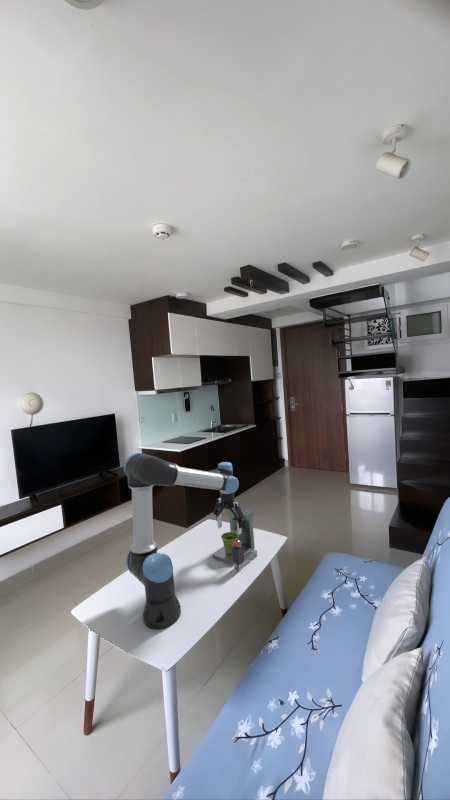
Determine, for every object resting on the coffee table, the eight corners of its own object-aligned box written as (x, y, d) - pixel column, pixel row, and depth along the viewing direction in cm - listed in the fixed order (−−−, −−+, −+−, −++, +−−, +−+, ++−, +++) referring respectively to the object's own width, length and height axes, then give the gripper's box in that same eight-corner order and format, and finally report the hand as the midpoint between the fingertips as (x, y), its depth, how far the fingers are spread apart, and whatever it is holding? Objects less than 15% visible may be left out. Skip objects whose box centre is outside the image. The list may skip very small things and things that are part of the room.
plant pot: (219, 550, 174) (218, 534, 174) (234, 545, 178) (233, 530, 178) (226, 558, 166) (225, 541, 165) (242, 552, 170) (241, 537, 169)
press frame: (239, 571, 157) (236, 531, 156) (209, 559, 169) (206, 522, 168) (264, 550, 175) (261, 513, 173) (236, 540, 187) (233, 506, 186)
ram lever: (239, 565, 156) (237, 543, 156) (233, 562, 159) (231, 540, 158) (244, 561, 160) (242, 539, 159) (237, 558, 162) (236, 537, 161)
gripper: (250, 493, 166) (252, 533, 167) (214, 486, 181) (216, 522, 183) (241, 497, 160) (244, 539, 161) (205, 489, 176) (207, 527, 177)
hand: (229, 530), depth 172 cm, fingers open, 13 cm apart
